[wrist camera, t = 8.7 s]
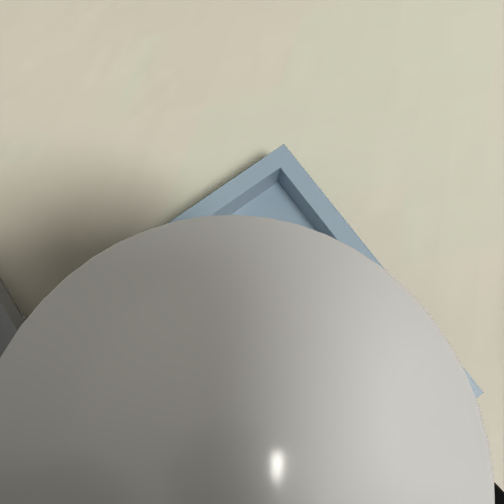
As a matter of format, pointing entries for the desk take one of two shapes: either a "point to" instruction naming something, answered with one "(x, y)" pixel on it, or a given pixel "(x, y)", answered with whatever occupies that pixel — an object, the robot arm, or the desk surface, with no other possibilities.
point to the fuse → (236, 379)
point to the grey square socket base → (8, 319)
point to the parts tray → (283, 203)
